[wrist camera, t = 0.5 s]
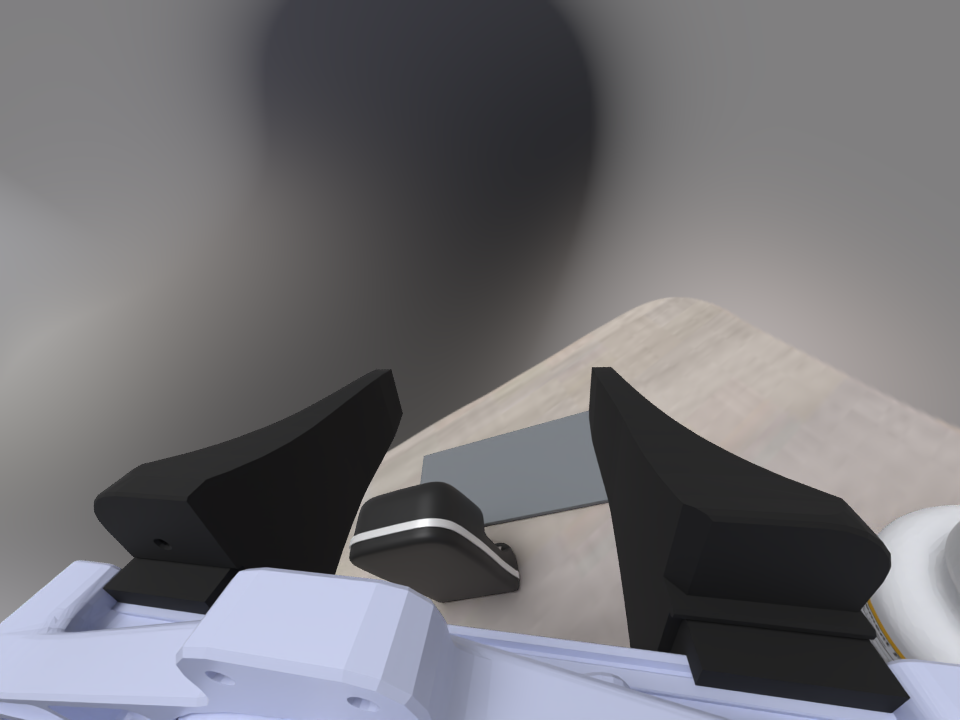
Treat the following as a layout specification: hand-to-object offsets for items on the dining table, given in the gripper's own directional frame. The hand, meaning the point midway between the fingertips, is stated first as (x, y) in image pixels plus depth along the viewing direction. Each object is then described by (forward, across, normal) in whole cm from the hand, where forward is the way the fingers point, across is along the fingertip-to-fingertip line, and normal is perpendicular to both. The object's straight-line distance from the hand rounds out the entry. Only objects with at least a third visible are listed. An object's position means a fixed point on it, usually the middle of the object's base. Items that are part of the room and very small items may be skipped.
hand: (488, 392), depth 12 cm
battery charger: (+5, +3, +20) cm, 20 cm away
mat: (+12, 0, +16) cm, 20 cm away
